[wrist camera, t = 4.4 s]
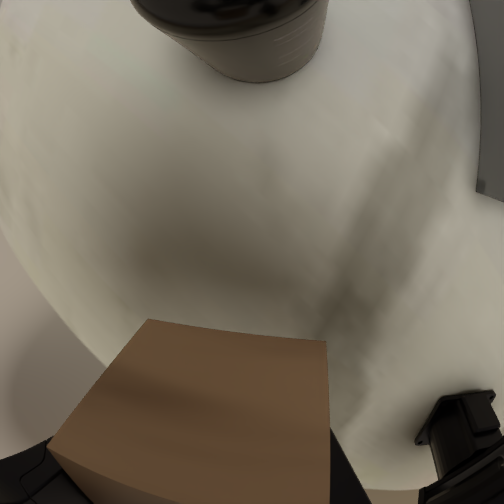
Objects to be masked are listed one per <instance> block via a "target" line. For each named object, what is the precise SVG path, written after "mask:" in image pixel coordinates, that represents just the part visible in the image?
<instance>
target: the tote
mask: <svg viewBox="0 0 504 504" xmlns="http://www.w3.org/2000/svg"><path fill="white" fill-rule="evenodd" d="M469 1H470V6H471V11H472V16H473V22H474V27H475V34H476V41H477V49H478V58H479V69H480V85H481V141H480V158H479V169H478V179H477V188H476V192H478V193H481V194H484V195H486V196H489V197H492V198H494V199H497V200H500V201H502V202H504V0H469Z"/></svg>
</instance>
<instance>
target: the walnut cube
mask: <svg viewBox="0 0 504 504" xmlns="http://www.w3.org/2000/svg"><path fill="white" fill-rule="evenodd" d="M46 447H47V448H48V450H49V451H50V452H51V454H52V455H53V456H54V458H55V459H56V460H57V462H58V463H59V464H60V465H61V467H62V468H63V469H64V470H65V472H66V473H67V474H68V475H69V476H70V478H71V479H72V480H73V481H74V482H75V483H76V485H77V486H78V487H79V488H80V489H81V490H82V491H83V492H84V493H85V495H86V496H87V497H88V498H89V499H90V500H91V501H92V502H93V503H94V504H329V501H330V412H329V385H328V366H327V349H326V341H317V340H305V339H293V338H282V337H272V336H263V335H254V334H245V333H237V332H229V331H222V330H215V329H208V328H201V327H194V326H188V325H182V324H176V323H170V322H164V321H158V320H153V319H147V320H146V322H145V323H144V324H143V325H142V326H141V328H140V329H139V330H138V331H137V332H136V334H135V335H134V336H133V337H132V338H131V340H130V341H129V342H128V343H127V345H126V346H125V347H124V348H123V349H122V351H121V352H120V353H119V354H118V355H117V357H116V358H115V359H114V360H113V362H112V363H111V364H110V365H109V367H108V368H107V369H106V370H105V371H104V373H103V374H102V375H101V376H100V378H99V379H98V380H97V381H96V383H95V384H94V385H93V387H92V388H91V389H90V390H89V392H88V393H87V394H86V396H85V397H84V398H83V399H82V401H81V402H80V403H79V404H78V406H77V407H76V408H75V409H74V411H73V412H72V413H71V415H70V416H69V417H68V418H67V420H66V421H65V423H64V424H63V425H62V426H61V428H60V429H59V430H58V432H57V433H56V434H55V435H54V437H53V438H52V439H51V441H50V442H49V443H48V445H47V446H46Z"/></svg>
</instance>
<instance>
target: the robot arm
mask: <svg viewBox="0 0 504 504" xmlns="http://www.w3.org/2000/svg"><path fill="white" fill-rule="evenodd" d="M495 396H496V394H495V392H494V391H488V392H481V393H473V394H465V395H456V396H446V397H443V398H441V399H440V400H439V401H438V403H437V404H436V406H435V408H434V410H433V411H432V413H431V415H430V417H429V418H428V420H427V422H426V423H425V425H424V427H423V428H422V430H421V431H420V433H419V435H418V436H417V438H416V439H415V445H417V446H419V445H427V444H430V448H431V452H432V456H433V460H434V464H435V468H436V472H437V476H438V481H436V482H434V483H432V484H431V485H429V486H427V487H423V488H421V489H419V498H418V504H504V436H502V434H501V431H500V429H499V427H500V422H499V420H498V418H497V416H496V414H495V412H494V410H493V408H492V406H491V403H492V401H493V400H494V398H495ZM53 437H54V436H52V437H50V438H48V439H47V440H44V441H43V442H41V443H39V444H37V445H35V446H33V447H31V448H29V449H27V450H24V451H22V452H20V453H17V454H15V455H12V456H9V457H7V458H4V459H1V460H0V504H94V503H93V502H92V501H91V500H90V499H89V498H88V497H87V496H86V495H85V493H84V492H83V491H82V490H81V489H80V488H79V487H78V486H77V485H76V483H75V482H74V481H73V480H72V479H71V478H70V476H69V475H68V474H67V473H66V472H65V470H64V469H63V468H62V467H61V465H60V464H59V463H58V462H57V460H56V459H55V458H54V456H53V455H52V454H51V452H50V451H49V450H48V448H47V447H46V446H47V445H48V443H49V442H50V441H51V439H52V438H53ZM329 504H372V503H371V501H370V500H369V498H368V496H367V494H366V492H365V491H364V489H363V487H362V485H361V483H360V481H359V479H358V478H357V476H356V474H355V472H354V470H353V468H352V466H351V465H350V463H349V461H348V459H347V457H346V455H345V454H344V452H343V450H342V448H341V446H340V444H339V442H338V440H337V439H336V437H335V435H334V433H333V431H332V429H331V427H330V501H329Z"/></svg>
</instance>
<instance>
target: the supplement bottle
mask: <svg viewBox="0 0 504 504" xmlns="http://www.w3.org/2000/svg"><path fill="white" fill-rule="evenodd" d="M130 1H131V3H132V5H133V6H134V8H135V9H136V11H137V12H138V13H139V14H140V15H141V16H142V17H143V18H144V19H145V20H146V21H148V22H149V23H150V24H151V25H153V26H154V27H156V28H157V29H159V30H160V31H162V32H163V33H165V34H166V35H168V36H169V37H171V38H172V39H174V40H175V41H176V42H178V43H179V44H181V45H182V46H184V47H185V48H186V49H188V50H189V51H191V52H192V53H193V54H195V55H196V56H198V57H199V58H200V59H202V60H203V61H204V62H206V63H207V64H208V65H210V66H211V67H213V68H214V69H215V70H217V71H219V72H220V73H222V74H224V75H226V76H228V77H231V78H233V79H237V80H241V81H246V82H267V81H273V80H277V79H280V78H283V77H286V76H288V75H290V74H292V73H294V72H296V71H297V70H299V69H300V68H302V67H303V66H304V65H305V64H306V63H307V62H308V61H309V60H310V59H311V58H312V56H313V55H314V54H315V52H316V50H317V48H318V46H319V44H320V41H321V37H322V33H323V29H324V24H325V18H326V13H327V7H328V2H329V0H130Z"/></svg>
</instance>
